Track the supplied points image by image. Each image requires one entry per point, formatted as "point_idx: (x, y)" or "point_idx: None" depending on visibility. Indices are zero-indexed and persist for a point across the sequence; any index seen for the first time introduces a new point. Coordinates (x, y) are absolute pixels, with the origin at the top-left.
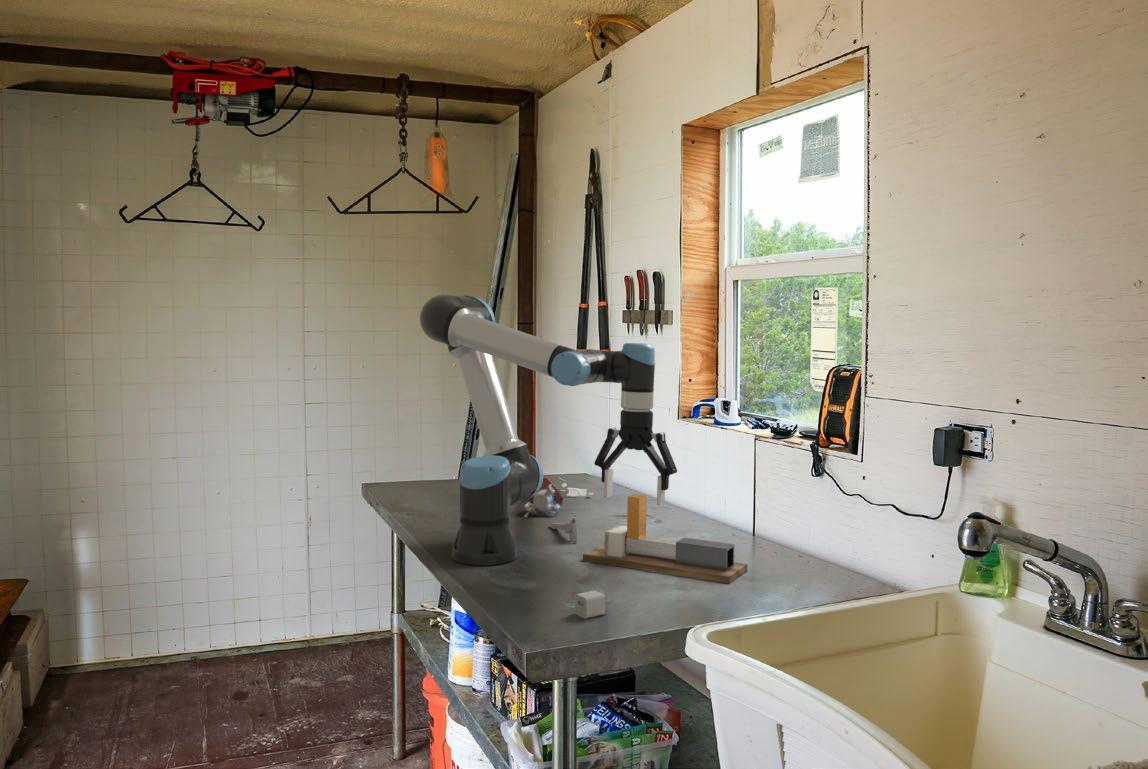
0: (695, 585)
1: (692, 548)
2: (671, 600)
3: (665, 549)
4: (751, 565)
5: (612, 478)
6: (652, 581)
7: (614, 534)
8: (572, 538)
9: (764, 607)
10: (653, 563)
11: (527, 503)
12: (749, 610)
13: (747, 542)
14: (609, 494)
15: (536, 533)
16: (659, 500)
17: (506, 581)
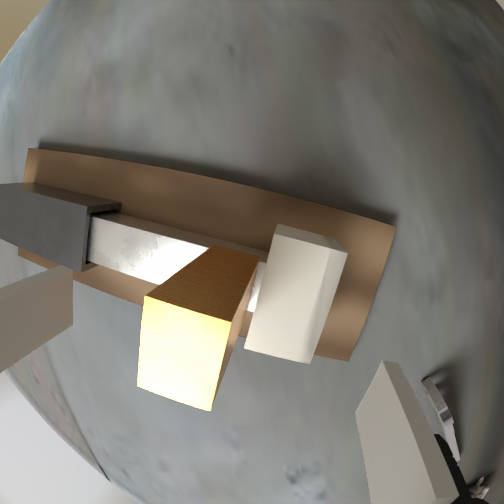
0: (83, 104)
1: (58, 196)
2: (122, 3)
3: (133, 222)
4: None
5: (370, 488)
6: (165, 87)
7: (305, 240)
8: (433, 383)
9: (13, 60)
10: (173, 184)
11: (483, 495)
12: (29, 36)
13: (88, 435)
14: (371, 396)
15: (487, 411)
16: (47, 270)
17: (468, 25)
